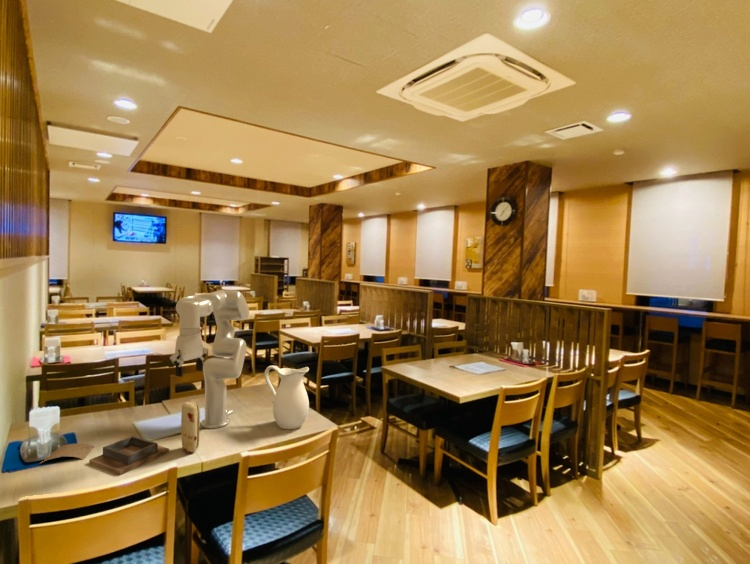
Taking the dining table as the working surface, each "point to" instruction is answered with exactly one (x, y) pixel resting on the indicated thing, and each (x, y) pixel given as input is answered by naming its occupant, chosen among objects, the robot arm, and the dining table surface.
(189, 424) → the food model
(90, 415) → the dining table surface
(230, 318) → the robot arm
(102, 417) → the dining table surface
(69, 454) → the brown curved panel
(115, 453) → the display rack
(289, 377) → the pitcher
